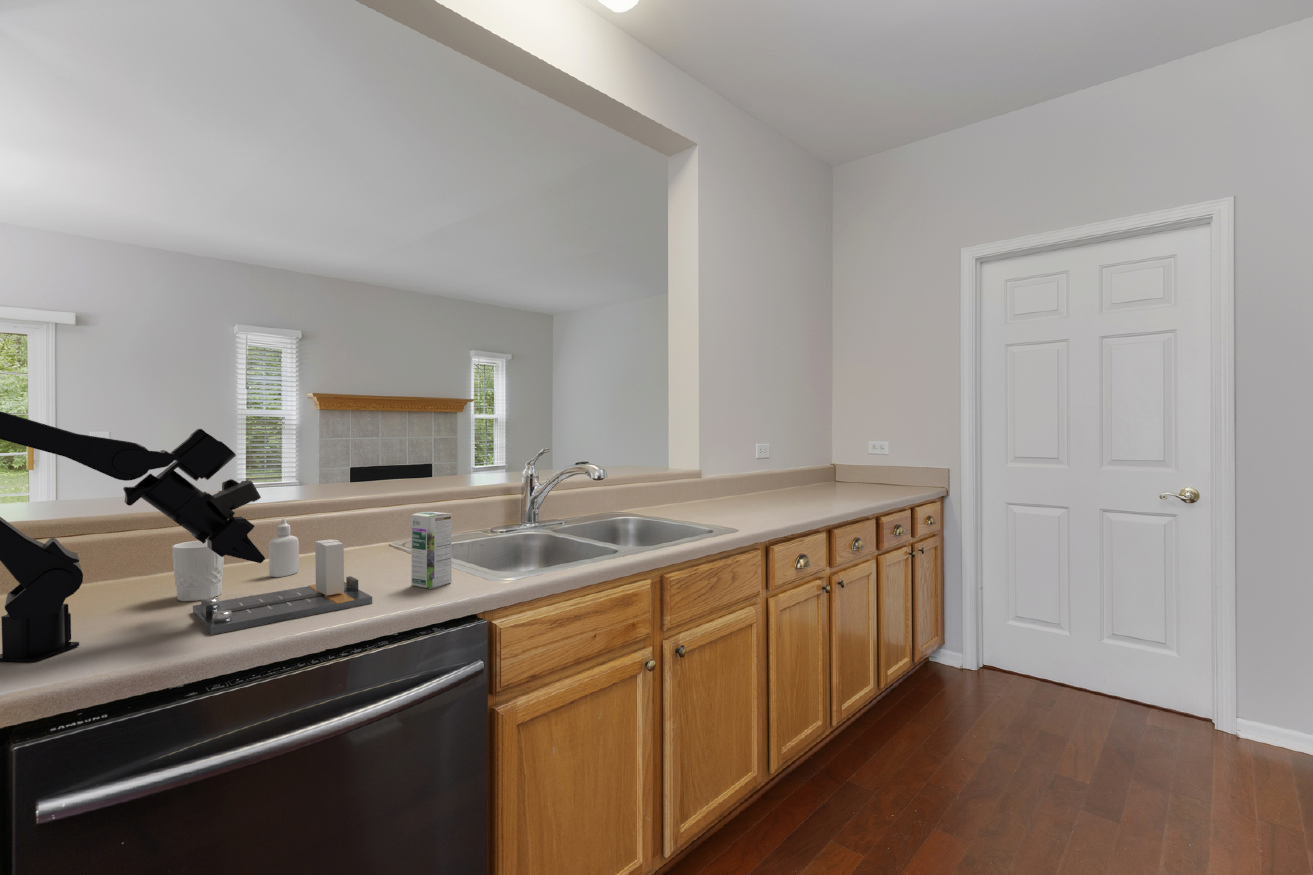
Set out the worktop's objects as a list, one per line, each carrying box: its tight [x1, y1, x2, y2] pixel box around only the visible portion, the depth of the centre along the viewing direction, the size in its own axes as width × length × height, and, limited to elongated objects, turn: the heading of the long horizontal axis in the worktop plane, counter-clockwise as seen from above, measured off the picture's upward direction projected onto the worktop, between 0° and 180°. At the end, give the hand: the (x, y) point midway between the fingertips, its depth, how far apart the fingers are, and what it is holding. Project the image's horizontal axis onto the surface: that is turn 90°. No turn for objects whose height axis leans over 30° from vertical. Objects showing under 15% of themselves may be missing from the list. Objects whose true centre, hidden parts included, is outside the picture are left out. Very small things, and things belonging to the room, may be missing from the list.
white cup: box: [171, 540, 225, 602], centre depth 116 cm, size 8×8×10 cm
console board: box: [192, 576, 373, 636], centre depth 109 cm, size 24×16×3 cm
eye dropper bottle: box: [268, 518, 300, 578], centre depth 133 cm, size 4×6×12 cm
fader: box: [314, 538, 345, 596], centre depth 114 cm, size 3×6×9 cm, turn 45°
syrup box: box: [410, 511, 453, 590], centre depth 125 cm, size 6×6×14 cm
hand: (262, 560), depth 107 cm, fingers closed
